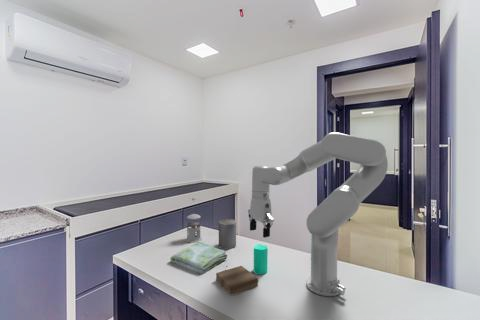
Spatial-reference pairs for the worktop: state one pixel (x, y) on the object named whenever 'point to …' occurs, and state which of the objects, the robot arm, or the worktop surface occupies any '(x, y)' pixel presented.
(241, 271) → the walnut base
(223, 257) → the towel
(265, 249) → the candle
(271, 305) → the worktop surface
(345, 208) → the robot arm
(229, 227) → the pillar candle
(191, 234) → the french press
